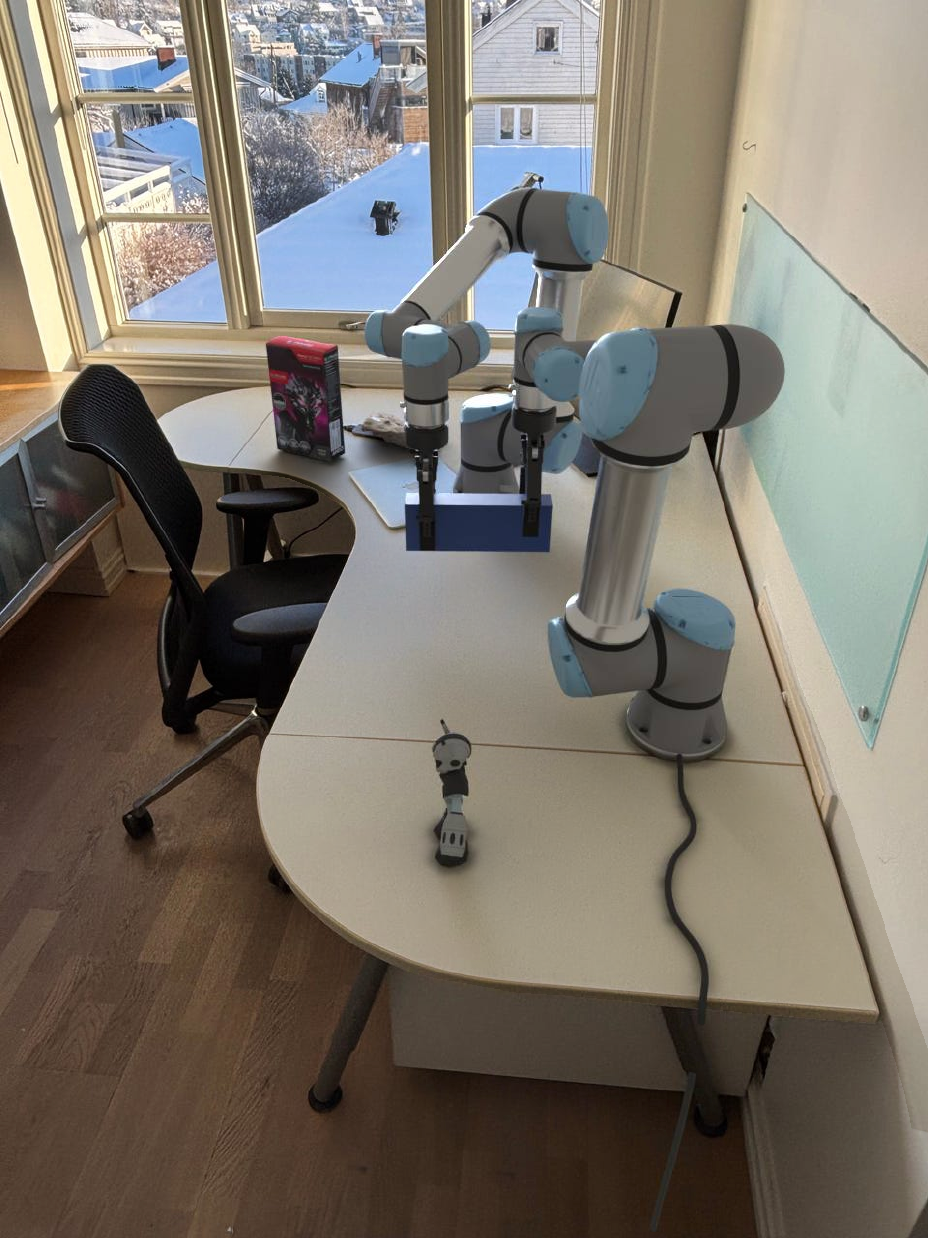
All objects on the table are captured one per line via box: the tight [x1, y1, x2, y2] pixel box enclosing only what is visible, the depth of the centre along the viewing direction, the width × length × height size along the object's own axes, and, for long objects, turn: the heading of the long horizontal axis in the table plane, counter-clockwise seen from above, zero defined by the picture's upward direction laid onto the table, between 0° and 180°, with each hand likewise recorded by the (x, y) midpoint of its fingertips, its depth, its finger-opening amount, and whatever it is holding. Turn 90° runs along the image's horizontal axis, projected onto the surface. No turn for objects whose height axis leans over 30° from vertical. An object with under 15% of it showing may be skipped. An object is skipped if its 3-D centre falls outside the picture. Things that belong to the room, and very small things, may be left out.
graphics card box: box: [265, 335, 346, 462], centre depth 222 cm, size 17×7×27 cm, turn 62°
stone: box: [360, 412, 413, 450], centre depth 233 cm, size 21×15×6 cm
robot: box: [431, 718, 473, 868], centre depth 118 cm, size 20×5×20 cm, turn 3°
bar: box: [404, 492, 554, 553], centre depth 166 cm, size 26×4×9 cm, turn 90°
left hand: (428, 542), depth 168 cm, fingers closed on bar, 4 cm apart
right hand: (528, 517), depth 166 cm, fingers open, 13 cm apart
